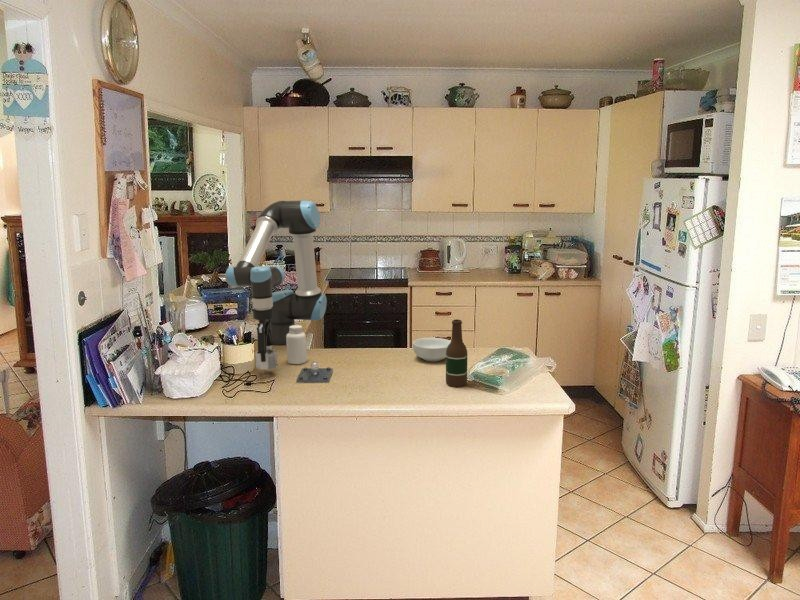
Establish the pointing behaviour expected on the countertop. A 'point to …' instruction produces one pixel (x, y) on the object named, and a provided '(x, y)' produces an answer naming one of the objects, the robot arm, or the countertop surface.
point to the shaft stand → (314, 374)
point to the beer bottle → (456, 358)
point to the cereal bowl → (431, 348)
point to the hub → (271, 359)
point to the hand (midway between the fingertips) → (266, 365)
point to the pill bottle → (296, 345)
